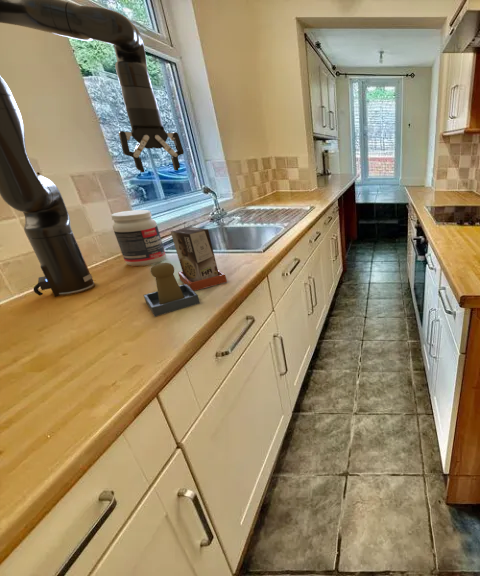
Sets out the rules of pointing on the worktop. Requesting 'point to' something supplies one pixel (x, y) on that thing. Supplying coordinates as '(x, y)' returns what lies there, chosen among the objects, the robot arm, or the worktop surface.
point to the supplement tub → (138, 237)
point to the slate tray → (158, 309)
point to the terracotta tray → (203, 281)
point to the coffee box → (195, 253)
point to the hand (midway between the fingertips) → (159, 171)
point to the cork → (166, 283)
